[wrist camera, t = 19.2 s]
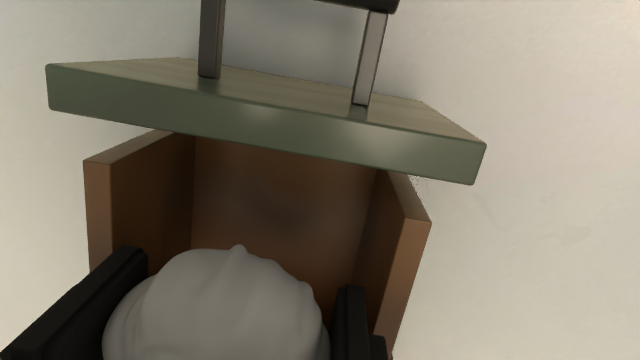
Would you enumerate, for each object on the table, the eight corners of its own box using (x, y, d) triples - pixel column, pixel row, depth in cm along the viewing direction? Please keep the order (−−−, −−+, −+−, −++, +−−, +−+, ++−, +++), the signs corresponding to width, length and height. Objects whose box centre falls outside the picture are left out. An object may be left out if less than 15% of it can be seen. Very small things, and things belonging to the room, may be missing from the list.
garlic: (373, 282, 11) (397, 463, 6) (283, 384, 13) (248, 588, 8) (204, 180, 10) (83, 298, 6) (132, 304, 12) (-9, 478, 7)
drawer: (179, -49, 15) (23, -144, 8) (450, 0, 15) (554, -46, 8) (169, 298, 21) (77, 431, 14) (361, 332, 21) (372, 482, 14)
